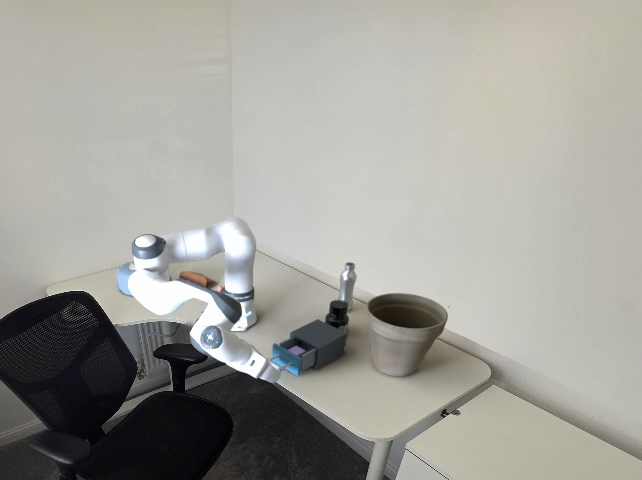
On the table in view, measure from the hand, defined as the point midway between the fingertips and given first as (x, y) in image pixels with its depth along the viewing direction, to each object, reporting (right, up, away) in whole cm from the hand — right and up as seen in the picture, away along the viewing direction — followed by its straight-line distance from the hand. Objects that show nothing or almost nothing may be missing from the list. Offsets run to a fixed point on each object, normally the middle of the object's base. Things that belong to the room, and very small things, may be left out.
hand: (265, 369), depth 142 cm
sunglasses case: (-29, +43, +66) cm, 84 cm away
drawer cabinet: (+19, +6, +16) cm, 26 cm away
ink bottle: (+29, +15, +28) cm, 43 cm away
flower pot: (+45, +2, +10) cm, 46 cm away
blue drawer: (+10, +2, +9) cm, 14 cm away
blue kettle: (-55, +39, +62) cm, 91 cm away
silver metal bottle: (+36, +26, +43) cm, 61 cm away
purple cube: (+11, +3, +9) cm, 15 cm away
